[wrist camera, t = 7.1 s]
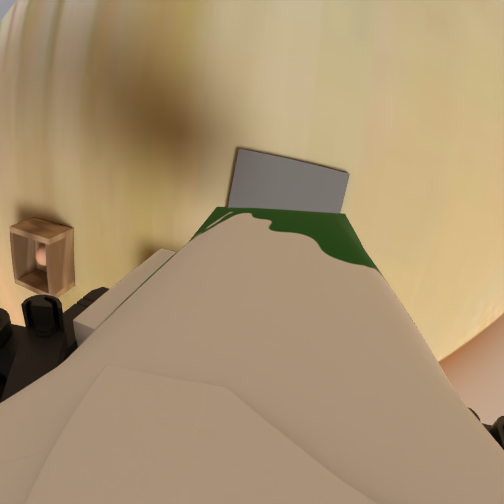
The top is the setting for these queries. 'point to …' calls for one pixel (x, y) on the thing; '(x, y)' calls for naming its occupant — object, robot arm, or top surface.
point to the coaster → (285, 184)
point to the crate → (57, 256)
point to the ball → (41, 255)
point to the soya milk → (252, 386)
